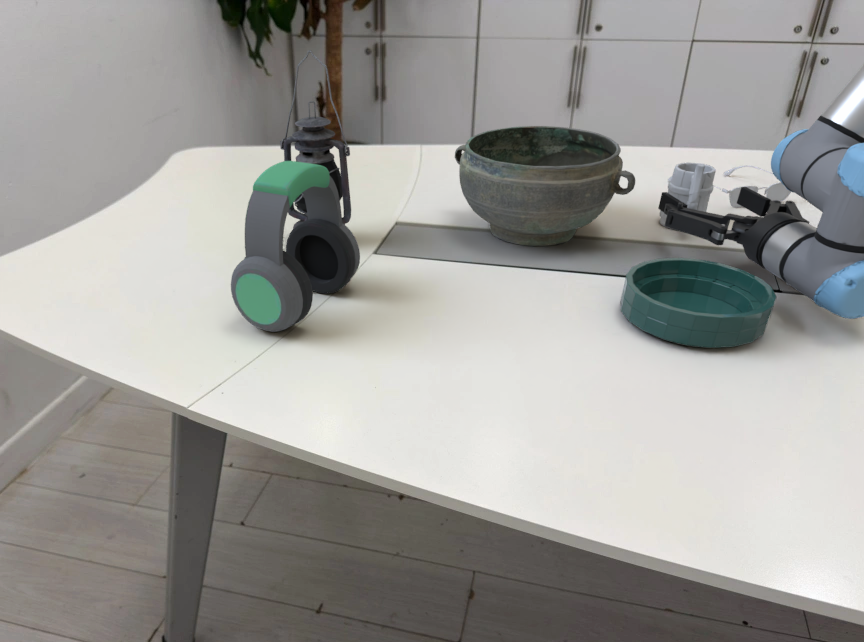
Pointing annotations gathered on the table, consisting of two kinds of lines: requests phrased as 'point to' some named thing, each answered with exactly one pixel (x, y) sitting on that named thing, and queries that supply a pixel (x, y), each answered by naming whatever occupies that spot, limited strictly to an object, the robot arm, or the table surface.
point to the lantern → (318, 153)
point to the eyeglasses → (756, 189)
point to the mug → (691, 186)
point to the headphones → (292, 247)
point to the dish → (697, 302)
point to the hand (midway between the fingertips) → (701, 197)
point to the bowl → (540, 180)
